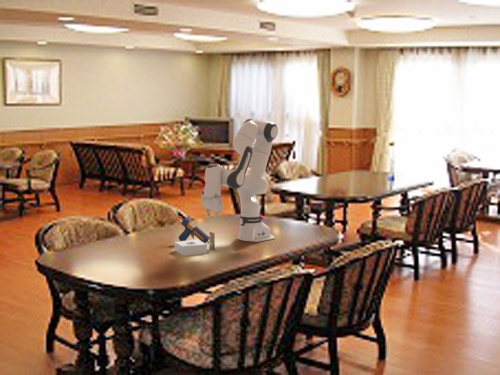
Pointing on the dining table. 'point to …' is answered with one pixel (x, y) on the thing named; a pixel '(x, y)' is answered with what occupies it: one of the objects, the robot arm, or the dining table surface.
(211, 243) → the peg
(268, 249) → the dining table surface
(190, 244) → the hole block
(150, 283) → the dining table surface
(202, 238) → the glue gun
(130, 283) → the dining table surface
